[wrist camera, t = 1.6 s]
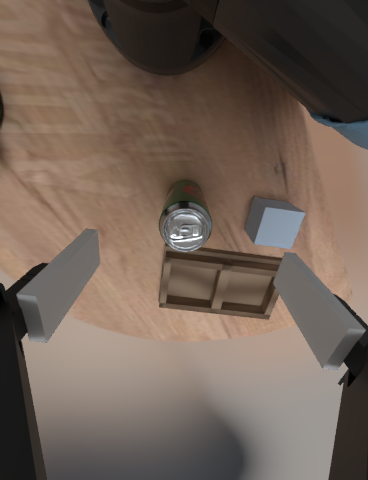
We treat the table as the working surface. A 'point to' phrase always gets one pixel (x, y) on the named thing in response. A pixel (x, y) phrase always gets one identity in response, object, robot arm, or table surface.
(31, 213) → the table surface
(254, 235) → the block
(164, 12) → the robot arm
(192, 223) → the soda can
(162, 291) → the caddy
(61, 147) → the table surface
